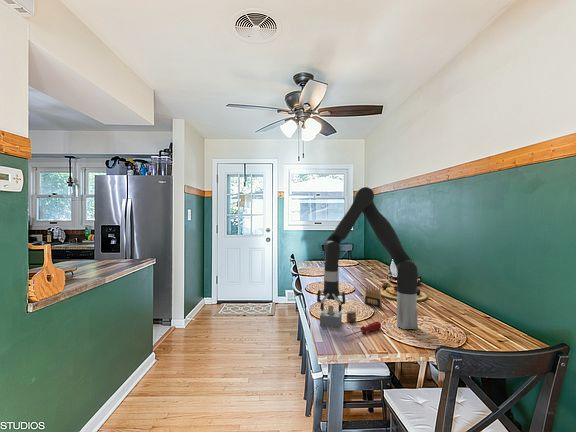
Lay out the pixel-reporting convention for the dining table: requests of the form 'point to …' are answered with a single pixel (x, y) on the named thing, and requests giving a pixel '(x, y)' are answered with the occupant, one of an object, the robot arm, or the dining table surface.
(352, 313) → the walnut stub
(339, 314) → the block
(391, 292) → the wooden plate with food
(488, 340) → the dining table surface
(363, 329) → the screwdriver
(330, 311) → the birch dowel
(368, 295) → the ammunition clip
